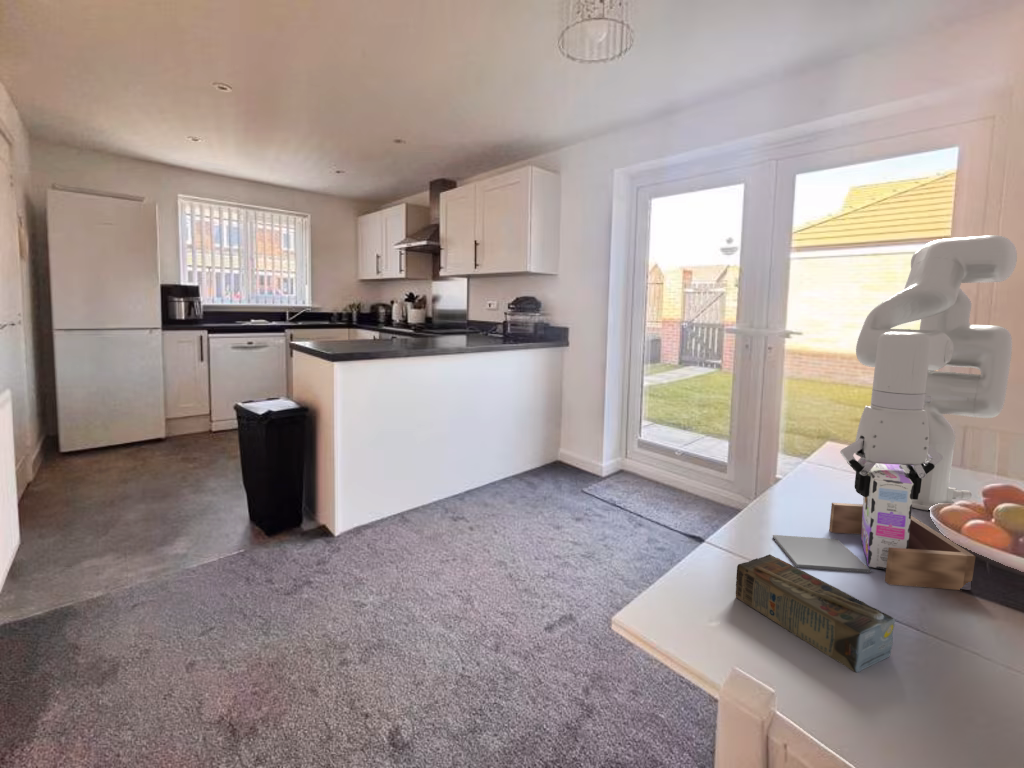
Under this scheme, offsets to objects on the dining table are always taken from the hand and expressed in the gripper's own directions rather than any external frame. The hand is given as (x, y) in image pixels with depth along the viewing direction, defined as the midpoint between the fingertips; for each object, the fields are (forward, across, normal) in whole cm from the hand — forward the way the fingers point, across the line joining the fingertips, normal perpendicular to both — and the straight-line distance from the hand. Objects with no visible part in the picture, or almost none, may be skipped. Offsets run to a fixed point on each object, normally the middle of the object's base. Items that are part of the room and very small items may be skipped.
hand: (886, 495), depth 92 cm
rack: (+12, -2, 0) cm, 12 cm away
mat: (+12, +11, +1) cm, 16 cm away
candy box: (+12, -1, 0) cm, 12 cm away
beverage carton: (+12, +22, +25) cm, 36 cm away
